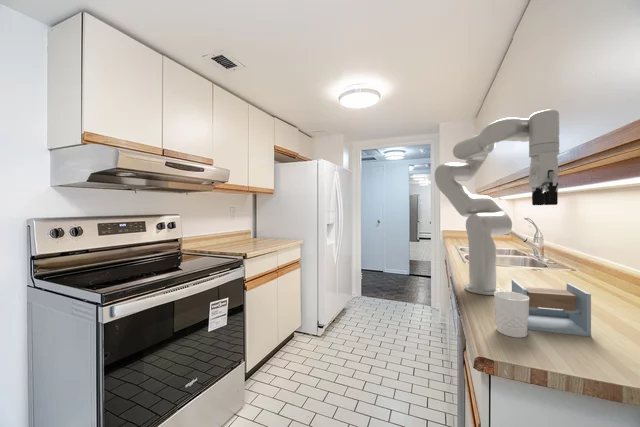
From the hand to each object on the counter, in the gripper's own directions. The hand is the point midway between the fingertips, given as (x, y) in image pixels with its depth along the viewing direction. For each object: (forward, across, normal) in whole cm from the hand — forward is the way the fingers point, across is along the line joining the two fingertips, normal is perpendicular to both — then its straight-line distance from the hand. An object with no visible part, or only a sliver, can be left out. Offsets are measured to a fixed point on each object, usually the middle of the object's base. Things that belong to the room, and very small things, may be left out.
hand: (544, 205), depth 88 cm
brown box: (+29, +11, -3) cm, 31 cm away
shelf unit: (+34, +11, -3) cm, 36 cm away
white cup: (+34, +20, -14) cm, 42 cm away
